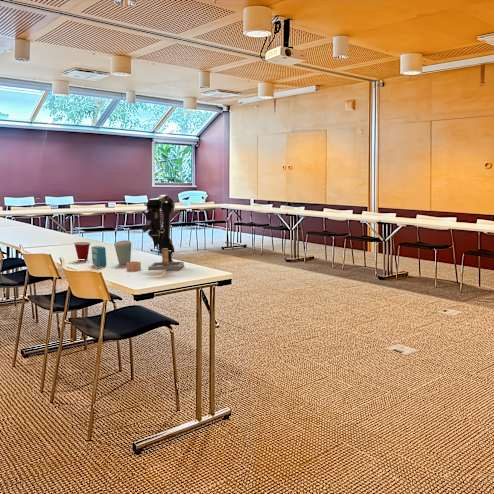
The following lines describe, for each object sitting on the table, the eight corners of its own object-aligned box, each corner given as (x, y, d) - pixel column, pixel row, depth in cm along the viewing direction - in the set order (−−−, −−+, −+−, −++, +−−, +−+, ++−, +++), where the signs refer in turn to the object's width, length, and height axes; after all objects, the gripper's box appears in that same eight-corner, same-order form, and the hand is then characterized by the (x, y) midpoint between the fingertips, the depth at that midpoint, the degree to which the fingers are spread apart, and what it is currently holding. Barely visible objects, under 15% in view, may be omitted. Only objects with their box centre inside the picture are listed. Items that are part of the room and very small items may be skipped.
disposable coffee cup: (128, 266, 334) (127, 242, 332) (112, 266, 336) (110, 242, 334) (135, 263, 344) (134, 240, 342) (119, 263, 347) (118, 240, 345)
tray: (154, 266, 330) (154, 262, 330) (183, 265, 330) (183, 261, 329) (148, 271, 315) (148, 266, 314) (179, 270, 314) (179, 265, 313)
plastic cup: (88, 261, 362) (87, 243, 361) (72, 261, 363) (71, 243, 361) (93, 258, 373) (92, 241, 371) (78, 259, 373) (76, 241, 372)
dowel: (161, 267, 321) (160, 248, 319) (167, 266, 322) (166, 248, 321) (164, 267, 318) (163, 249, 316) (169, 267, 319) (168, 248, 318)
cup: (129, 269, 321) (128, 261, 321) (142, 269, 321) (141, 261, 320) (125, 272, 313) (124, 263, 313) (139, 271, 313) (138, 263, 312)
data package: (92, 264, 346) (91, 246, 344) (99, 264, 348) (98, 245, 347) (99, 267, 336) (98, 247, 334) (106, 266, 339) (105, 247, 337)
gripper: (146, 218, 334) (147, 244, 336) (138, 221, 316) (140, 248, 318) (164, 218, 334) (165, 243, 336) (157, 220, 315) (159, 247, 317)
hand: (157, 245), depth 327 cm, fingers open, 9 cm apart
